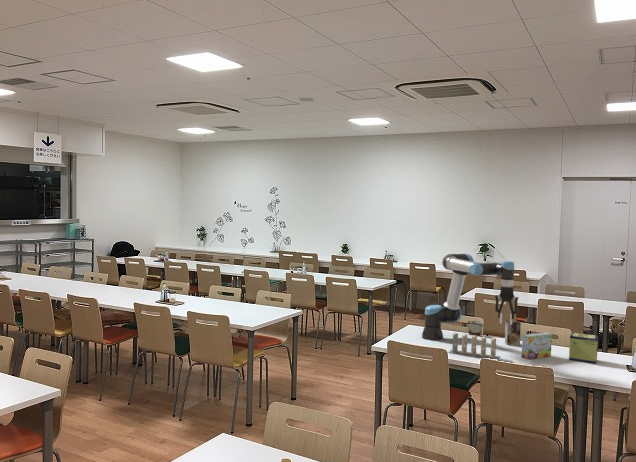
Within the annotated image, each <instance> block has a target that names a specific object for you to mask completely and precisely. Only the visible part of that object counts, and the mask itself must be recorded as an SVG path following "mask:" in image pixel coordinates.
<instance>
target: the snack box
mask: <svg viewBox="0 0 636 462" xmlns="http://www.w3.org/2000/svg"><path fill="white" fill-rule="evenodd" d="M552 340H553V334H552V333H550V332H546V331H545V332H544V331H543V332H537V333H536V332H535V333H527V334H522V343H521V358H522V359H525V360H534V359H542V358H549V357H550V358H551V357H552V342H553V341H552Z"/></svg>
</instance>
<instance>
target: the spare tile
mask: <svg viewBox="0 0 636 462" xmlns="http://www.w3.org/2000/svg"><path fill="white" fill-rule="evenodd" d="M458 340H459V333H458V332H454V333H452V349H451V350H452V353H456V352H457V351H459V350H458V345H459V344H458V343H459V341H458Z"/></svg>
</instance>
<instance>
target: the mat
mask: <svg viewBox="0 0 636 462" xmlns="http://www.w3.org/2000/svg"><path fill="white" fill-rule="evenodd" d="M448 353H449V354H451V355H456V356H457V355H458V356H463V357H468V358H477V359H482V358H490V359H491V354H486V356H485V357H481V353H478V352H476V355H475V356H471V351H467V353H466V354H465V355H464V354H462V350H458V351H457V352H456V353H452V349H450V350H449V351H448V352H447V354H448ZM500 358H501V356H499V355H496V357H495V358H494V359H497V361H499V360H500Z"/></svg>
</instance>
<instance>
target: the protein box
mask: <svg viewBox="0 0 636 462" xmlns="http://www.w3.org/2000/svg"><path fill="white" fill-rule="evenodd" d="M598 342H599V336H598V335H595V334H586V333H577V332H571V333H570V335H569V352H568V360H569V361H575V362H581V363H589V364H595V365H596V364H597V363H598V362H597V361H598V360H597V359H598V348H599V347H598V346H599V343H598Z"/></svg>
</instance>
